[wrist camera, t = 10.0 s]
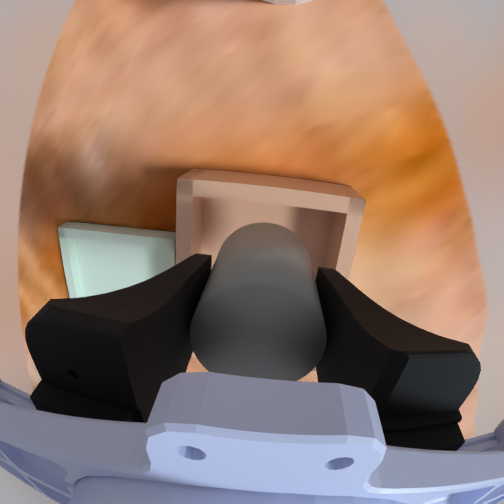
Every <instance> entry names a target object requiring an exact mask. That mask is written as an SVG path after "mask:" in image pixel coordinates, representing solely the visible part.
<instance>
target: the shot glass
mask: <svg viewBox="0 0 504 504" xmlns="http://www.w3.org/2000/svg"><path fill="white" fill-rule="evenodd" d="M263 1H266V2H269V3H272V4H280V5H297V4H301V3H306V2H310V1H313V0H263Z"/></svg>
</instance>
